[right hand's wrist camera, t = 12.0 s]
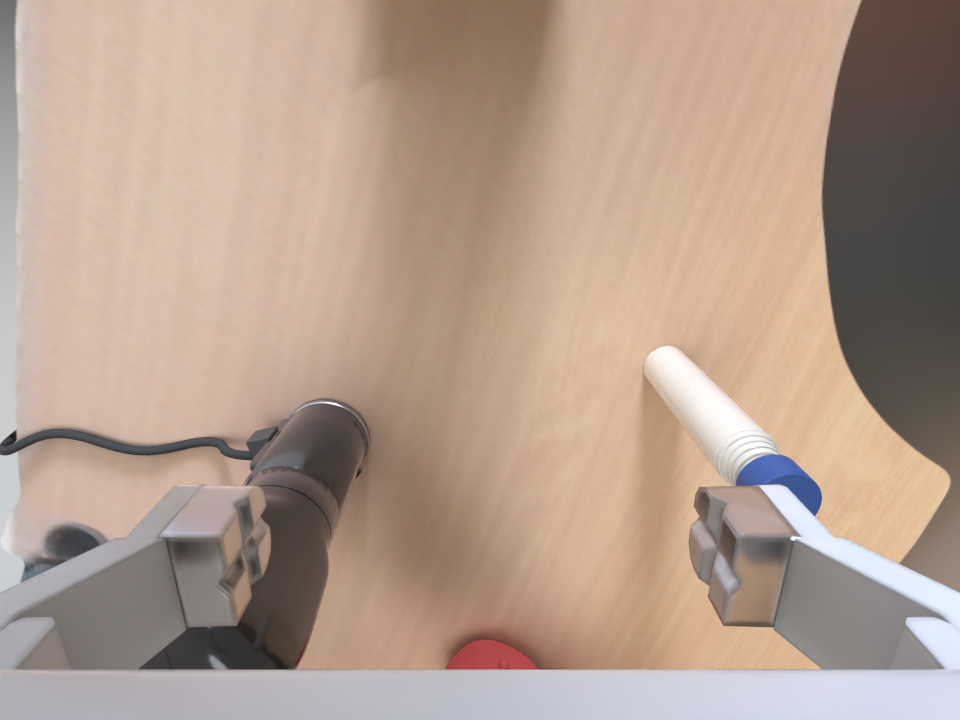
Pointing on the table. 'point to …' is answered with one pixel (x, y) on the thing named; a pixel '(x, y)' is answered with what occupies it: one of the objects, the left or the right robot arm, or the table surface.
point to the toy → (490, 657)
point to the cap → (782, 478)
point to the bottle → (707, 413)
